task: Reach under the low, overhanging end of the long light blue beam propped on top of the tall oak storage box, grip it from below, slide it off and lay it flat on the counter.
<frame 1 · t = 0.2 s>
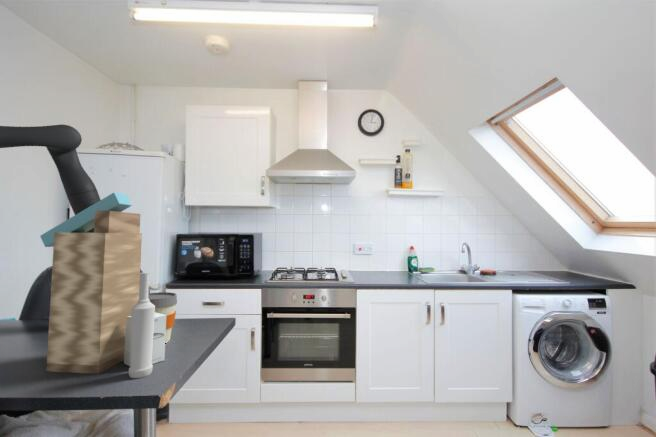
supplement box: (144, 363, 86), on the table
bottle: (140, 375, 79), on the table
storage box: (94, 361, 86), on the table
long light blue beam: (87, 220, 89), point 39 cm above the table, touching storage box
reusable coffee cup: (154, 343, 102), on the table
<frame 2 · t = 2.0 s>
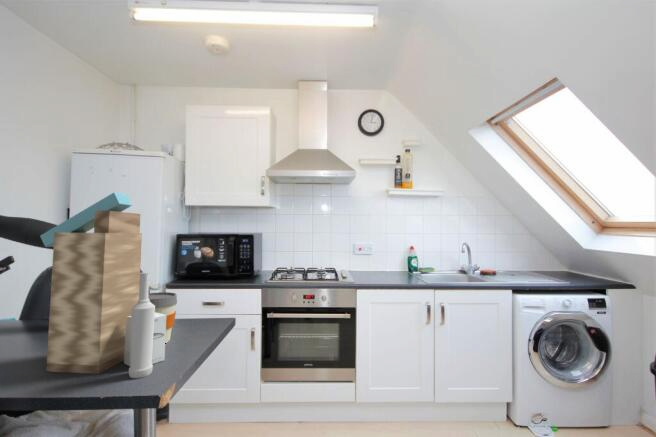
nothing on the table moved.
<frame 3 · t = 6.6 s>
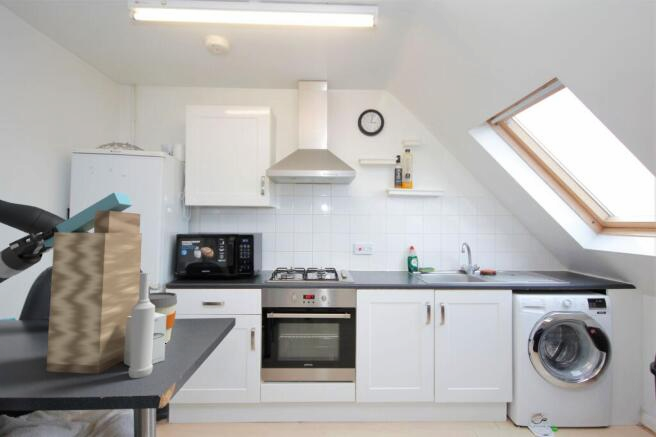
hand: (65, 230, 89), 36 cm above the table, tool pointing upward, fingers closed on long light blue beam, 5 cm apart
long light blue beam: (87, 220, 89), point 39 cm above the table, touching gripper, storage box
everything else where it was.
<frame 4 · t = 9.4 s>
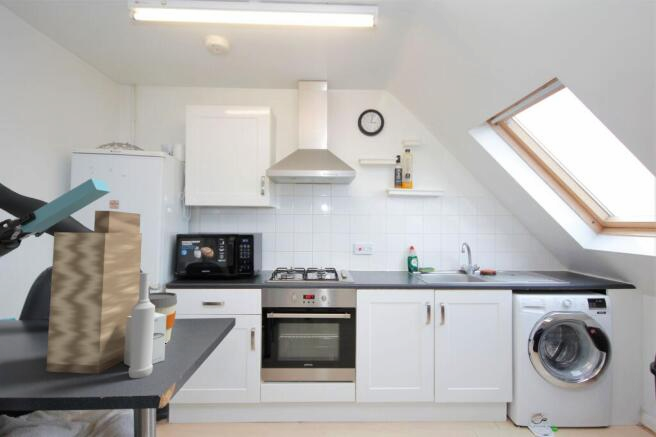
hand: (43, 215, 90), 40 cm above the table, tool pointing upward, fingers closed on long light blue beam, 5 cm apart
long light blue beam: (65, 206, 90), point 42 cm above the table, touching gripper
everything else where it was.
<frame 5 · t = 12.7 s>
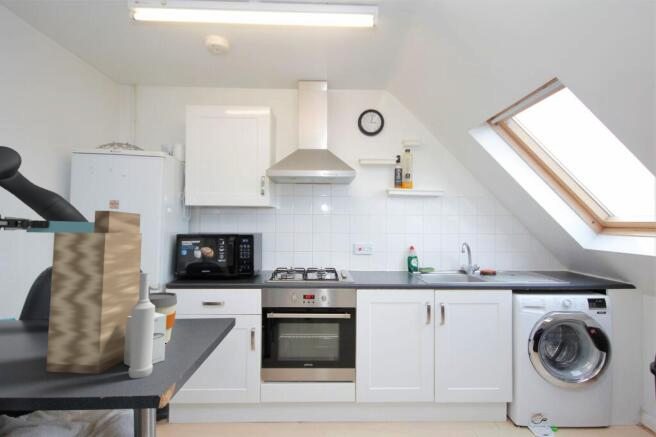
hand: (51, 224, 98), 37 cm above the table, tool horizontal, fingers closed on long light blue beam, 5 cm apart
long light blue beam: (79, 227, 101), point 37 cm above the table, tilted 30°, touching gripper
everything else where it was.
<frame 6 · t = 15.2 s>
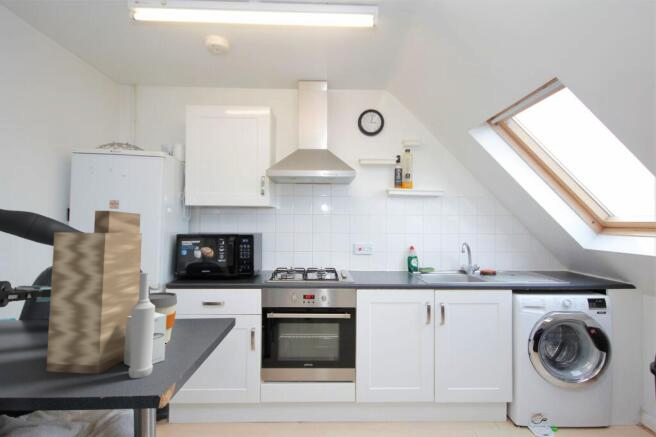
hand: (60, 291, 98), 17 cm above the table, tool horizontal, fingers closed on long light blue beam, 5 cm apart
long light blue beam: (88, 292, 101), point 16 cm above the table, tilted 31°, touching gripper
everything else where it was.
when the fingers open (6 cm above the table, at t = 17.5 s): long light blue beam drops 4 cm, point 1 cm above the table.
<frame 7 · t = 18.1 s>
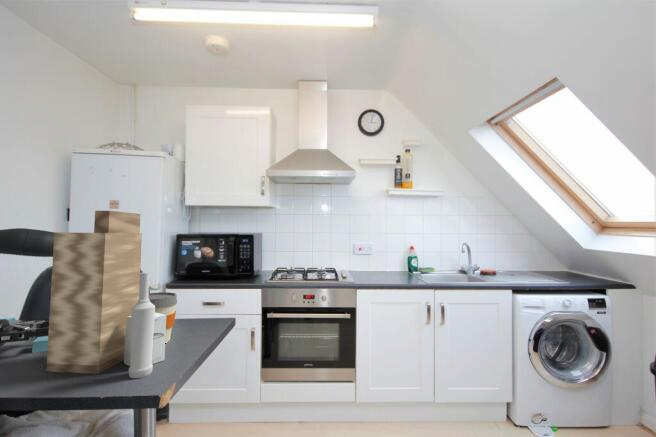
hand: (56, 327, 97), 6 cm above the table, tool horizontal, fingers open, 8 cm apart
long light blue beam: (85, 339, 100), point 1 cm above the table, tilted 30°
everything else where it was.
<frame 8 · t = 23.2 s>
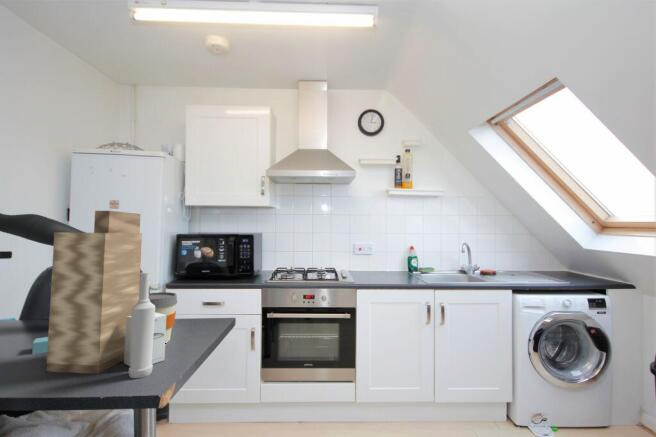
hand: (5, 255, 94), 28 cm above the table, tool horizontal, fingers open, 8 cm apart
at the end: long light blue beam moved 40.7 cm from its start; long light blue beam point 1.3 cm above the table; long light blue beam touching table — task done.
